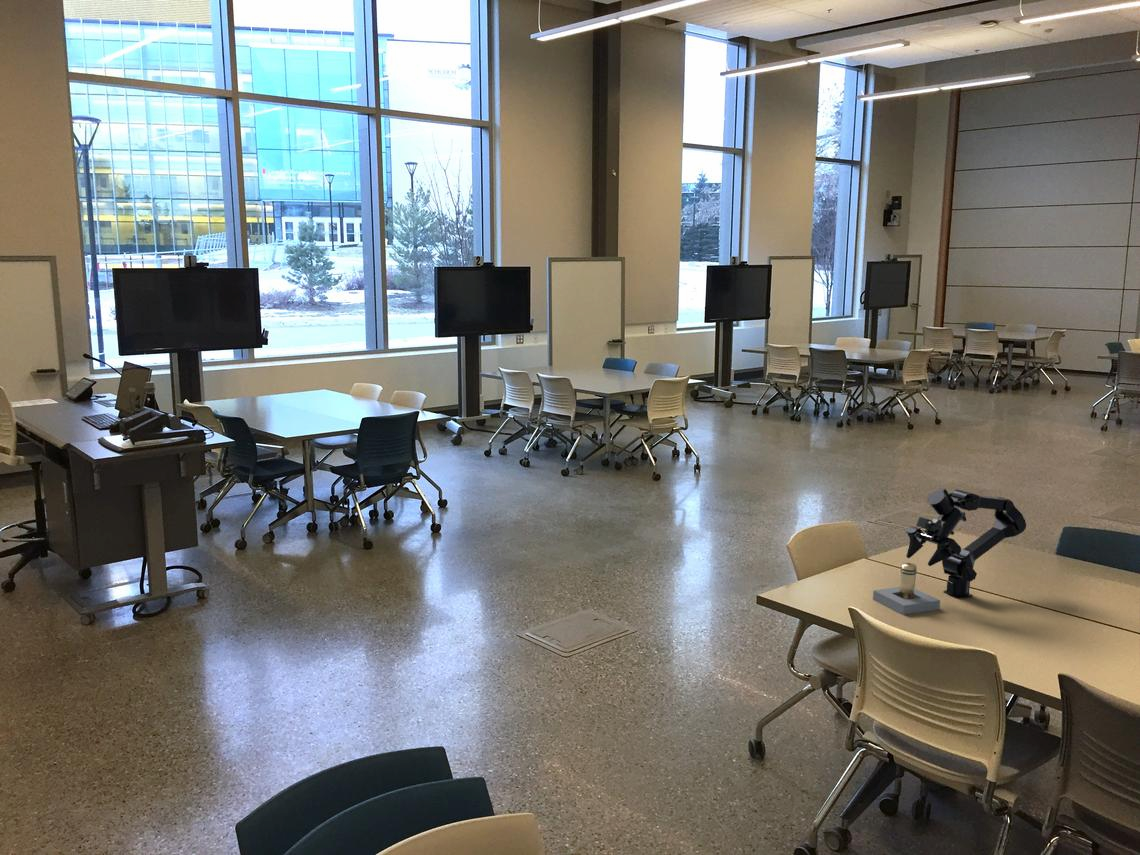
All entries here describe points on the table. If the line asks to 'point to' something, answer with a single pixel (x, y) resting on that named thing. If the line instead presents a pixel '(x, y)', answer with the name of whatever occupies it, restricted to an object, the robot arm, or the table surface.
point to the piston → (907, 581)
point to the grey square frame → (906, 601)
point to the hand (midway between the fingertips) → (917, 561)
